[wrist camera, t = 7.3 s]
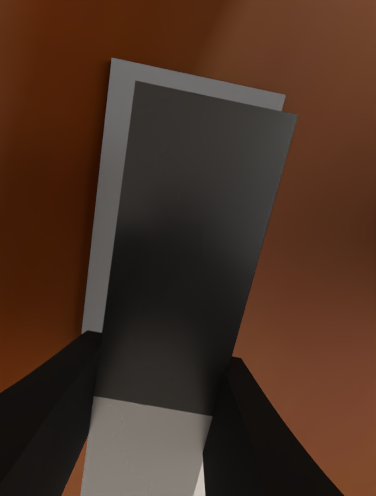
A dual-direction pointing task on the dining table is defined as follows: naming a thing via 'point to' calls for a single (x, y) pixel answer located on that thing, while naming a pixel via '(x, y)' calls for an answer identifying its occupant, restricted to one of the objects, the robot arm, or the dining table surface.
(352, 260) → the dining table surface
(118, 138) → the mat
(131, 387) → the two-tone grey bar
